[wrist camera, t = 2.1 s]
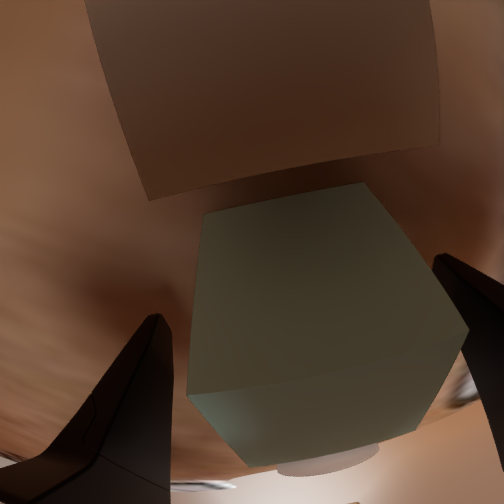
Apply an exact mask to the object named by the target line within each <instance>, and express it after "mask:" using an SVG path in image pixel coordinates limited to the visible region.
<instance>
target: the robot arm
mask: <svg viewBox="0 0 504 504" xmlns="http://www.w3.org/2000/svg"><path fill="white" fill-rule="evenodd" d="M432 272H433V273H434V275H435V276H436V278H437V279H438V281H439V282H440V284H441V285H442V287H443V288H444V290H445V291H446V293H447V294H448V296H449V298H450V299H451V301H452V302H453V304H454V305H455V307H456V309H457V310H458V312H459V313H460V315H461V317H462V318H463V320H464V322H465V323H466V325H467V327H468V328H469V332H468V334H467V337H466V339H465V341H464V343H463V345H462V347H461V351H462V354H463V356H464V358H465V361H466V363H467V365H468V368H469V370H470V373H471V375H472V378H473V380H474V383H475V385H476V388H477V390H478V393H479V396H480V398H481V401H482V404H483V407H484V409H485V412H486V415H487V418H488V420H489V421H488V422H489V425H490V428H491V431H492V434H493V438H494V441H495V444H496V447H497V451H498V454H499V458H500V462H501V465H502V469H503V472H504V285H502V284H501V283H499V282H497V281H496V280H494V279H492V278H490V277H489V276H487V275H485V274H484V273H482V272H480V271H478V270H477V269H475V268H473V267H471V266H469V265H468V264H466V263H464V262H462V261H460V260H459V259H457V258H455V257H453V256H451V255H449V254H447V253H443V254H439V255H436V256H435V258H434V262H433V268H432ZM173 385H174V368H173V346H172V332H171V329H170V328H169V326H168V324H167V322H166V321H165V319H164V317H163V316H162V314H160V313H157V314H151V315H148V316H147V318H146V319H145V320H144V321H143V323H142V324H141V325H140V327H139V328H138V329H137V331H136V332H135V333H134V335H133V336H132V337H131V339H130V340H129V341H128V343H127V344H126V345H125V347H124V348H123V350H122V351H121V352H120V354H119V355H118V356H117V358H116V359H115V360H114V362H113V363H112V364H111V366H110V367H109V369H108V370H107V371H106V373H105V374H104V376H103V377H102V378H101V380H100V381H99V382H98V384H97V385H96V387H95V388H94V389H93V391H92V394H90V395H89V396H88V398H87V399H86V401H85V402H84V403H83V405H82V406H81V407H80V409H79V410H78V412H77V413H76V414H75V415H74V417H73V418H72V419H71V420H70V422H69V423H68V424H67V425H66V426H65V428H64V429H63V430H62V431H61V432H60V434H59V435H58V436H57V437H56V438H55V440H54V441H53V442H52V443H51V444H50V446H49V447H48V448H47V449H46V450H45V451H44V452H43V453H41V454H40V455H38V456H36V457H34V458H31V459H28V460H25V461H22V462H19V463H16V464H13V465H9V466H6V467H3V468H0V502H1V503H0V504H171V503H170V502H171V499H170V463H171V426H172V403H173Z"/></svg>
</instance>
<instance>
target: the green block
mask: <svg viewBox="0 0 504 504" xmlns="http://www.w3.org/2000/svg"><path fill="white" fill-rule="evenodd" d="M468 332H469V328H468V327H467V325H466V323H465V322H464V320H463V318H462V317H461V315H460V313H459V312H458V310H457V309H456V307H455V305H454V304H453V302H452V301H451V299H450V298H449V296H448V294H447V293H446V291H445V290H444V288H443V287H442V285H441V284H440V282H439V281H438V279H437V278H436V276H435V275H434V273H433V272H432V270H431V269H430V268H429V266H428V265H427V263H426V262H425V260H424V259H423V258H422V256H421V255H420V253H419V252H418V251H417V249H416V248H415V246H414V245H413V244H412V242H411V241H410V240H409V238H408V237H407V236H406V234H405V233H404V232H403V230H402V229H401V228H400V226H399V225H398V224H397V223H396V221H395V220H394V219H393V217H392V216H391V215H390V214H389V212H388V211H387V210H386V209H385V207H384V206H383V205H382V204H381V202H380V201H379V200H378V199H377V197H376V196H375V195H374V194H373V193H372V191H371V190H370V189H369V188H368V187H367V185H366V184H365V183H364V182H360V183H355V184H349V185H343V186H338V187H332V188H327V189H322V190H316V191H311V192H306V193H301V194H296V195H291V196H286V197H281V198H276V199H271V200H266V201H262V202H257V203H252V204H248V205H243V206H238V207H234V208H229V209H225V210H220V211H216V212H211V213H207V214H203V222H202V230H201V238H200V246H199V255H198V264H197V273H196V283H195V292H194V303H193V313H192V325H191V336H190V349H189V362H188V377H187V393H186V396H187V397H188V398H189V399H190V401H191V402H192V403H193V404H194V405H195V407H196V408H197V409H198V410H199V412H200V413H201V414H202V415H203V416H204V418H205V419H206V420H207V421H208V422H209V423H210V425H211V426H212V427H213V428H214V429H215V430H216V431H217V433H218V434H219V435H220V436H221V437H222V438H223V439H224V441H225V442H226V443H227V444H228V445H229V446H230V447H231V448H232V449H233V450H234V451H235V453H236V454H237V455H238V456H239V457H240V458H241V459H242V460H243V461H244V462H245V463H246V464H247V465H248V466H249V467H259V466H267V465H275V464H282V463H288V462H295V461H300V460H306V459H311V458H317V457H322V456H326V455H331V454H335V453H340V452H344V451H348V450H352V449H356V448H360V447H364V446H367V445H371V444H374V443H378V442H381V441H385V440H388V439H391V438H394V437H397V436H400V435H403V434H406V433H409V432H412V431H415V430H416V428H417V427H418V425H419V423H420V422H421V420H422V419H423V417H424V416H425V414H426V412H427V411H428V409H429V407H430V406H431V404H432V402H433V401H434V399H435V397H436V395H437V394H438V392H439V390H440V388H441V387H442V385H443V383H444V381H445V379H446V377H447V376H448V374H449V372H450V370H451V368H452V366H453V364H454V362H455V360H456V358H457V356H458V354H459V352H460V350H461V347H462V345H463V343H464V341H465V339H466V337H467V334H468Z"/></svg>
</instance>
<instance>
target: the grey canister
mask: <svg viewBox="0 0 504 504" xmlns="http://www.w3.org/2000/svg"><path fill="white" fill-rule="evenodd" d="M378 451H379V447H378V443H374V444H371V445H367V446H364V447H360V448H356V449H352V450H348V451H344V452H340V453H335V454H331V455H326V456H322V457H317V458H311V459H306V460H300V461H295V462H288V463H282V464H277V470H278V473H280V474H282V475H285V476H297V477H299V476H300V477H301V476H314V475H321V474H326V473H331V472H335V471H339V470H342V469H346V468H349V467H352V466H354V465H357V464H359V463H362V462H364V461H366V460H367V459H369V458H371V457H372V456H374V455H375V454H376V453H377V452H378Z"/></svg>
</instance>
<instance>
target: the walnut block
mask: <svg viewBox="0 0 504 504" xmlns="http://www.w3.org/2000/svg"><path fill="white" fill-rule="evenodd" d="M84 1H85V5H86V9H87V13H88V17H89V21H90V25H91V29H92V32H93V36H94V40H95V43H96V47H97V50H98V54H99V57H100V61H101V64H102V68H103V71H104V74H105V77H106V81H107V84H108V87H109V90H110V93H111V97H112V100H113V103H114V106H115V109H116V112H117V115H118V118H119V121H120V124H121V127H122V130H123V132H124V135H125V138H126V141H127V144H128V147H129V149H130V152H131V155H132V158H133V160H134V163H135V166H136V168H137V171H138V174H139V176H140V179H141V182H142V184H143V187H144V189H145V192H146V195H147V197H148V200H149V201H151V200H155V199H158V198H162V197H166V196H170V195H174V194H177V193H181V192H185V191H189V190H193V189H197V188H201V187H206V186H210V185H214V184H218V183H222V182H227V181H231V180H236V179H240V178H245V177H249V176H254V175H259V174H263V173H268V172H273V171H278V170H283V169H288V168H293V167H299V166H304V165H309V164H315V163H321V162H326V161H332V160H338V159H344V158H350V157H357V156H363V155H370V154H377V153H384V152H391V151H399V150H407V149H415V148H423V147H433V146H439V144H440V104H439V80H438V66H437V55H436V45H435V36H434V29H433V22H432V15H431V9H430V3H429V0H84Z"/></svg>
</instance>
